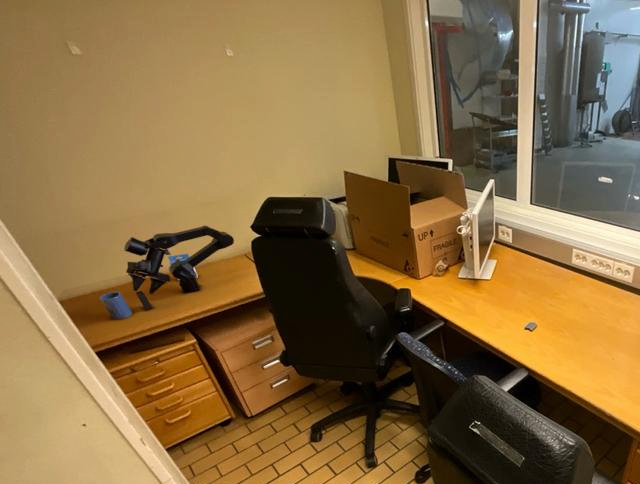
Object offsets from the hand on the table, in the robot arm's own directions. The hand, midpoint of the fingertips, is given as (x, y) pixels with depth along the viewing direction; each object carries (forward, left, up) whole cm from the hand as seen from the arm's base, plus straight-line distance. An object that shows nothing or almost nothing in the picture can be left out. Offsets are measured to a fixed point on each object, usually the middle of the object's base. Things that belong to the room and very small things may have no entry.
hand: (142, 292), depth 178 cm
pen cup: (+10, +4, -8) cm, 13 cm away
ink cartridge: (+1, +1, -8) cm, 8 cm away
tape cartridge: (-13, -27, -8) cm, 31 cm away
